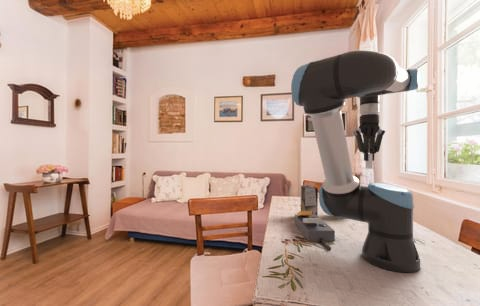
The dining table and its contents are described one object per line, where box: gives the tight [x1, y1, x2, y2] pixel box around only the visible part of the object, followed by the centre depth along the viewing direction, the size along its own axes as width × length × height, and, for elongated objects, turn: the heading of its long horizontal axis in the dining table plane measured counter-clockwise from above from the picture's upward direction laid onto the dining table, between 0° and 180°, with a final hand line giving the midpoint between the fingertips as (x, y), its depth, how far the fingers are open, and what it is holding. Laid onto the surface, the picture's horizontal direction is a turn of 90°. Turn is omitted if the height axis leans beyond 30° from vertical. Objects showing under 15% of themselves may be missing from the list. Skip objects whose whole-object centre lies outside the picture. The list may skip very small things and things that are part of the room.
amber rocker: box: [296, 210, 313, 216], centre depth 103 cm, size 7×5×2 cm
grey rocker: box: [303, 218, 321, 223], centre depth 93 cm, size 7×5×2 cm
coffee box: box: [300, 185, 319, 216], centre depth 117 cm, size 9×6×16 cm
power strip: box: [294, 214, 336, 251], centre depth 94 cm, size 30×10×5 cm, turn 0°
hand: (368, 168), depth 101 cm, fingers closed
